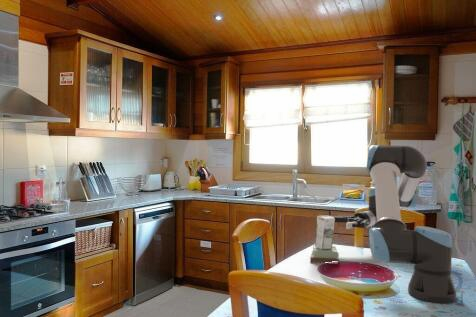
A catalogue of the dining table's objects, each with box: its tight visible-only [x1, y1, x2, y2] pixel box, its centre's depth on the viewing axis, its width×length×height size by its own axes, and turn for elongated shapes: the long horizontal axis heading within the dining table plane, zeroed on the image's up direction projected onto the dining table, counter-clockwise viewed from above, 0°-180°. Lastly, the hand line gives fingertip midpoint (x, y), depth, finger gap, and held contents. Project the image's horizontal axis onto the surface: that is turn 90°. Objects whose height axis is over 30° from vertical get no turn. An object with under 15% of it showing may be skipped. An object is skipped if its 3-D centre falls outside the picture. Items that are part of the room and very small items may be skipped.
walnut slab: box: [310, 250, 340, 264], centre depth 182 cm, size 12×12×3 cm
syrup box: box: [314, 215, 336, 250], centre depth 182 cm, size 6×6×14 cm
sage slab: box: [312, 244, 339, 260], centre depth 182 cm, size 10×10×3 cm
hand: (335, 223), depth 186 cm, fingers open, 13 cm apart
